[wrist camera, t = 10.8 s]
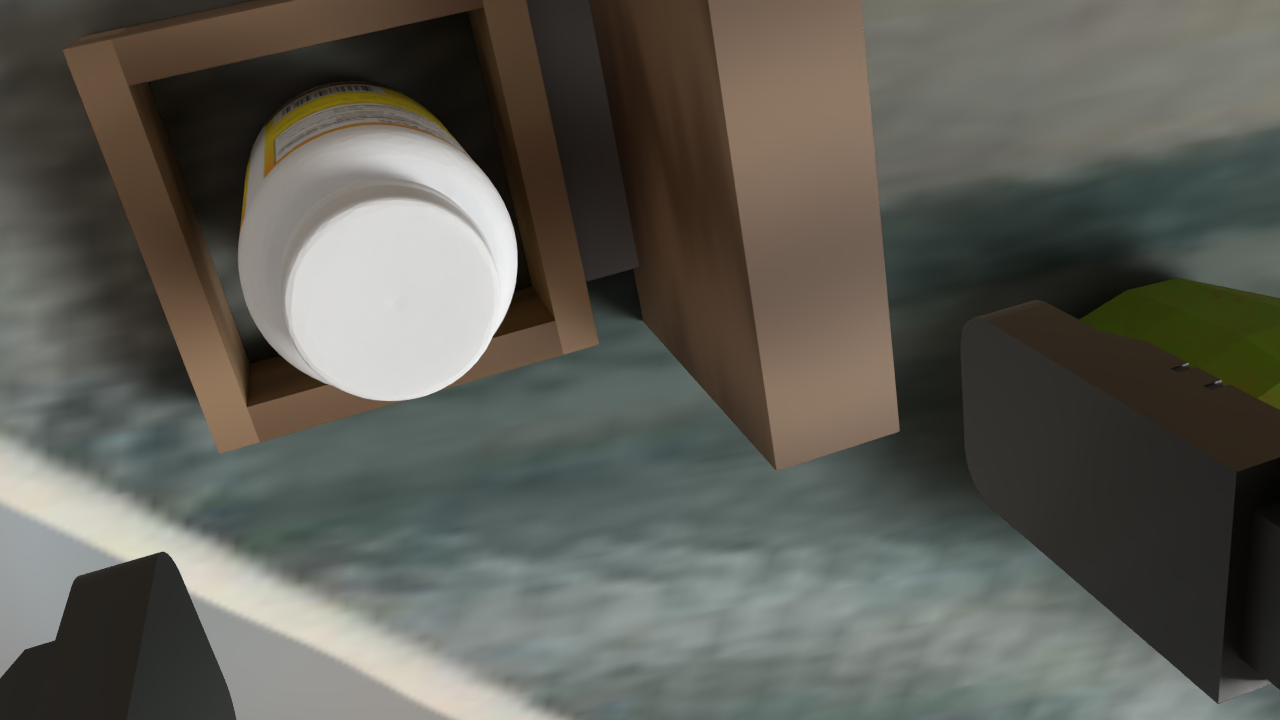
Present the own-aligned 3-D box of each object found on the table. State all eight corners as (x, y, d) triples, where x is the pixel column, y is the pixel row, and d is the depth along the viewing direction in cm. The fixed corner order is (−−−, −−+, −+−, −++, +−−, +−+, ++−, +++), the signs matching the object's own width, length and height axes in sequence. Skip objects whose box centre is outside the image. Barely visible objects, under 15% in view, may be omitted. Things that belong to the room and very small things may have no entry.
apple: (1255, 220, 39) (1581, 322, 29) (1235, 484, 43) (1512, 649, 33) (972, 299, 36) (1224, 439, 27) (982, 569, 41) (1201, 773, 31)
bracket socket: (67, -8, 26) (-44, 33, 17) (671, -130, 29) (847, -151, 20) (236, 437, 31) (218, 650, 22) (736, 295, 34) (899, 431, 25)
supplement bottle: (386, 322, 31) (432, 492, 22) (202, 209, 28) (167, 349, 19) (503, 159, 30) (602, 264, 21) (326, 30, 28) (350, 86, 19)
